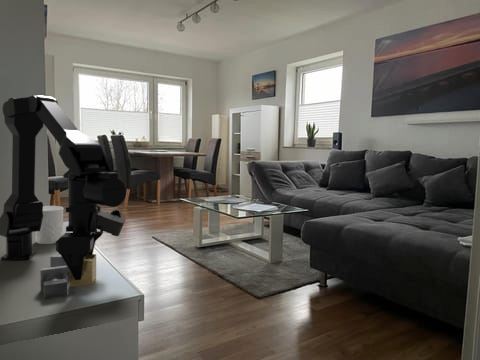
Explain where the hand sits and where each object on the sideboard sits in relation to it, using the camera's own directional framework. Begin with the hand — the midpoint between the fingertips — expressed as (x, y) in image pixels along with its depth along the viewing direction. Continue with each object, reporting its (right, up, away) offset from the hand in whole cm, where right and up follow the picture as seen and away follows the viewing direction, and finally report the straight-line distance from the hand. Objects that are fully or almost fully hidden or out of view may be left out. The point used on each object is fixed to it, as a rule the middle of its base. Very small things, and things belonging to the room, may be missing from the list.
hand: (83, 271), depth 79 cm
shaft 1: (-3, -3, -6) cm, 7 cm away
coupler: (0, -2, 0) cm, 2 cm away
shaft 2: (-7, -1, +6) cm, 9 cm away
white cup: (-23, +1, +29) cm, 37 cm away
